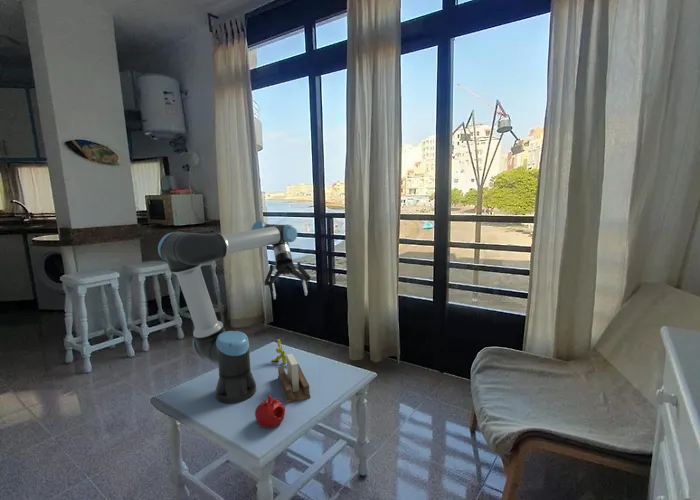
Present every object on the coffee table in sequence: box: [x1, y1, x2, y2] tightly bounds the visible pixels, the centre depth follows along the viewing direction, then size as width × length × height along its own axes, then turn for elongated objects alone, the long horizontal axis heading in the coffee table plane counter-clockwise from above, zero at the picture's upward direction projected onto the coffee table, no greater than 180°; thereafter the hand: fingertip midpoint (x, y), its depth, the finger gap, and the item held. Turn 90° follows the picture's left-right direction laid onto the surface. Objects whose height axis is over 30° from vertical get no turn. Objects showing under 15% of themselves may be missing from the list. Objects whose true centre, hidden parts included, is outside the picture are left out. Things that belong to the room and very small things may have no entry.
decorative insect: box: [271, 338, 287, 365], centre depth 162 cm, size 13×3×10 cm
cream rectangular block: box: [285, 353, 299, 392], centre depth 139 cm, size 2×10×11 cm, turn 21°
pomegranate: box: [254, 394, 286, 428], centre depth 117 cm, size 10×10×9 cm
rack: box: [277, 363, 311, 404], centre depth 139 cm, size 9×20×5 cm, turn 20°
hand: (290, 295), depth 150 cm, fingers open, 13 cm apart
